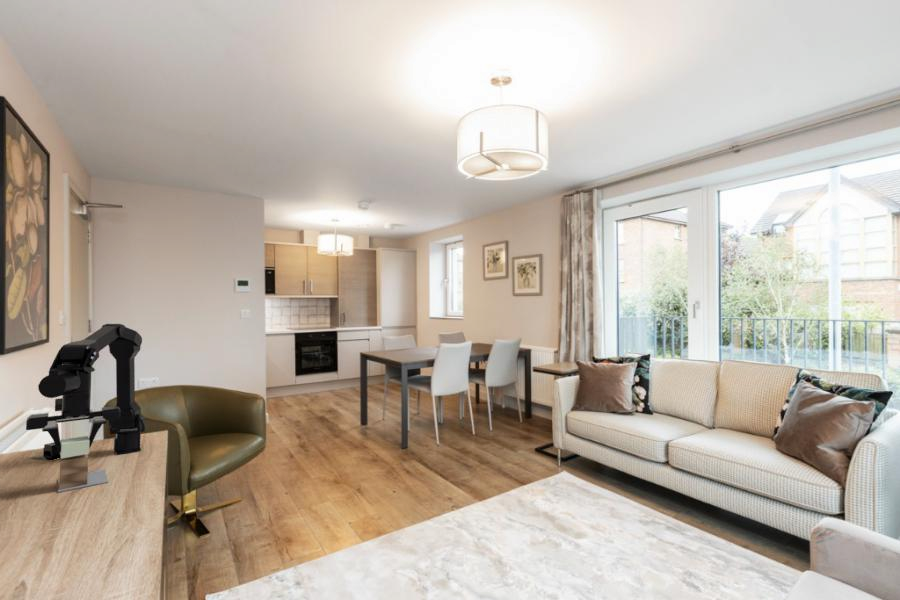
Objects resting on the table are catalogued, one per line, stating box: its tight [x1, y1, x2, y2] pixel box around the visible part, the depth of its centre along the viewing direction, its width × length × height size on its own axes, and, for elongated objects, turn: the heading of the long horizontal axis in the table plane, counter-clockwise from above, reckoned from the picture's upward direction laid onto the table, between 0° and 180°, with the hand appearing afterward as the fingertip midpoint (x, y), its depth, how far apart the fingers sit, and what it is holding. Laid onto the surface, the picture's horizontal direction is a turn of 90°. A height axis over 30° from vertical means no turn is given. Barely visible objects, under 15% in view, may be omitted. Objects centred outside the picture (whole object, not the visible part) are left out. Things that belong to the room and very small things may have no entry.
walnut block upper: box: [59, 454, 89, 477], centre depth 114 cm, size 6×6×4 cm
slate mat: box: [57, 469, 109, 494], centre depth 116 cm, size 10×12×1 cm
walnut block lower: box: [59, 470, 89, 490], centre depth 113 cm, size 6×6×4 cm
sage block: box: [60, 435, 90, 458], centre depth 114 cm, size 6×6×4 cm
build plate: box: [33, 441, 60, 461], centre depth 136 cm, size 12×7×5 cm, turn 72°
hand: (74, 449), depth 114 cm, fingers closed on sage block, 6 cm apart
